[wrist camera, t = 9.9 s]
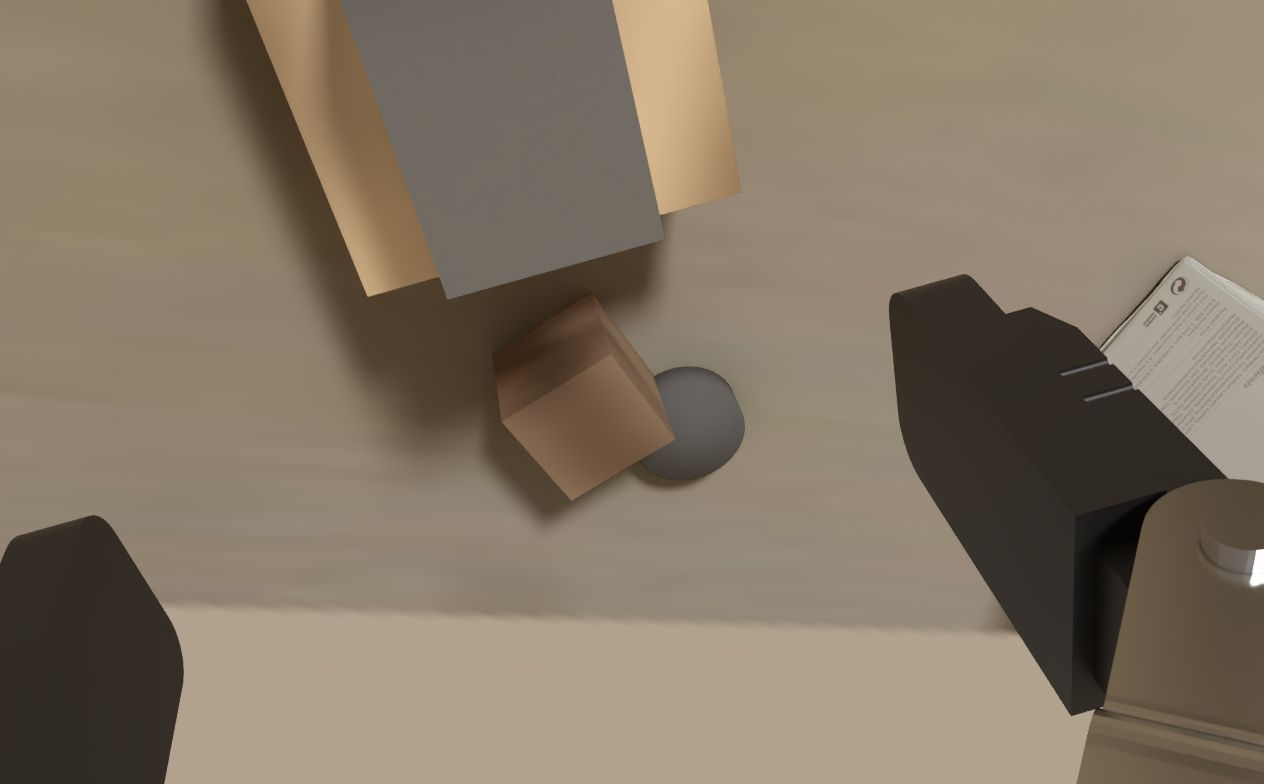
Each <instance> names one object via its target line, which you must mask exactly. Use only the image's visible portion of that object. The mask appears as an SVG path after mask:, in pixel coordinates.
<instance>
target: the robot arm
mask: <svg viewBox="0 0 1264 784" xmlns="http://www.w3.org/2000/svg"><path fill="white" fill-rule="evenodd" d="M889 319H890V329H891V340H892V351H893V362H894V372H895V383H896V394H897V405H898V415H899V422H900V428H901V432H902V436H903V440H904V443H905V446H906V449H907V452H908V455H909V458H910V460H911V462H912V465H913V467H914V469H915V471H916V473H917V475H918V476H919V478H920V480H921V481H922V483H923V484H924V486H925V488H926V489H927V491H928V492H929V494H930V495H931V497H932V499H933V500H934V502H935V503H936V505H937V506H938V508H939V510H940V511H941V513H942V514H943V516H944V517H945V519H946V521H947V522H948V524H949V525H950V527H951V528H952V530H953V531H954V533H955V535H956V536H957V538H958V539H959V541H960V542H961V544H962V546H963V547H964V549H965V550H966V552H967V553H968V555H969V557H970V558H971V560H972V561H973V563H974V564H975V566H976V568H977V569H978V571H979V572H980V574H981V575H982V577H983V579H984V580H985V582H986V583H987V585H988V586H989V588H990V590H991V591H992V593H993V594H994V596H995V597H996V599H997V601H998V602H999V604H1000V605H1001V607H1002V608H1003V610H1004V612H1005V613H1006V615H1007V616H1008V618H1009V619H1010V621H1011V623H1012V624H1013V626H1014V627H1015V629H1016V630H1017V632H1018V634H1019V635H1020V637H1021V638H1022V640H1023V641H1024V643H1025V644H1026V646H1027V647H1028V649H1029V651H1030V652H1031V654H1032V655H1033V657H1034V659H1035V660H1036V662H1037V663H1038V665H1039V666H1040V668H1041V670H1042V671H1043V673H1044V674H1045V676H1046V677H1047V679H1048V680H1049V682H1050V684H1051V685H1052V687H1053V688H1054V690H1055V691H1056V693H1057V695H1058V696H1059V698H1060V699H1061V701H1062V703H1063V704H1064V706H1065V707H1066V709H1067V710H1068V712H1069V714H1070V715H1071V716H1073V715H1077V714H1080V713H1083V712H1086V711H1090V710H1093V709H1095V711H1094V714H1093V717H1092V720H1091V724H1090V727H1089V731H1088V735H1087V739H1086V744H1085V748H1084V753H1083V757H1082V762H1081V766H1080V771H1079V775H1078V780H1077V784H1264V483H1262V482H1256V481H1251V480H1240V479H1228V478H1227V477H1226V476H1225V475H1224V474H1223V473H1222V472H1221V471H1220V470H1219V469H1218V468H1217V467H1216V466H1215V465H1214V464H1213V463H1212V462H1211V461H1210V460H1209V459H1208V458H1207V457H1206V456H1205V455H1204V454H1203V453H1202V452H1201V451H1200V450H1199V449H1198V448H1197V447H1196V446H1195V445H1194V444H1193V443H1192V442H1191V441H1190V440H1189V439H1188V438H1187V437H1186V436H1185V435H1184V434H1183V433H1182V432H1181V431H1180V430H1179V429H1178V428H1177V427H1176V426H1175V425H1174V424H1173V423H1172V422H1171V421H1170V420H1169V419H1168V418H1167V417H1166V416H1165V415H1164V414H1163V413H1162V412H1161V411H1160V410H1159V409H1158V408H1157V407H1156V406H1155V405H1154V404H1153V403H1152V402H1151V401H1150V400H1149V399H1148V398H1147V397H1146V396H1145V395H1144V394H1143V393H1142V392H1141V391H1140V390H1139V389H1137V390H1134V388H1133V385H1132V382H1131V381H1130V380H1129V379H1128V378H1127V377H1126V376H1125V375H1124V374H1123V373H1122V372H1121V371H1120V370H1119V369H1118V368H1117V367H1116V366H1115V365H1114V364H1111V365H1110V364H1109V363H1108V359H1107V357H1106V356H1105V355H1104V354H1103V353H1102V352H1101V351H1100V350H1099V349H1098V348H1097V347H1096V346H1095V345H1094V344H1093V343H1092V342H1091V341H1090V340H1089V339H1088V338H1087V337H1086V336H1085V335H1084V334H1083V333H1082V332H1081V331H1080V330H1079V329H1078V328H1077V327H1075V326H1073V325H1070V324H1068V323H1066V322H1064V321H1061V320H1059V319H1057V318H1055V317H1052V316H1050V315H1048V314H1046V313H1043V312H1041V311H1039V310H1036V309H1034V308H1032V307H1029V308H1026V309H1022V310H1019V311H1015V312H1011V313H1008V314H1005V313H1004V312H1003V311H1002V310H1001V309H1000V307H999V306H998V305H997V304H996V303H995V302H994V301H993V300H992V299H991V298H990V297H989V295H988V294H987V293H986V292H985V291H984V290H983V289H982V288H981V287H980V286H979V285H978V283H977V282H976V281H975V280H974V279H973V278H972V277H970V276H969V275H967V274H962V275H959V276H955V277H951V278H948V279H944V280H941V281H937V282H933V283H930V284H926V285H923V286H919V287H916V288H912V289H908V290H905V291H901V292H898V293H894V294H893V295H892V296H891V299H890V303H889ZM183 675H184V669H183V658H182V652H181V647H180V643H179V640H178V637H177V634H176V631H175V629H174V627H173V625H172V623H171V621H170V619H169V617H168V616H167V614H166V612H165V611H164V609H163V608H162V606H161V605H160V603H159V601H158V600H157V598H156V597H155V595H154V593H153V592H152V590H151V589H150V587H149V585H148V584H147V582H146V581H145V579H144V578H143V576H142V574H141V573H140V571H139V570H138V568H137V566H136V565H135V563H134V562H133V560H132V558H131V557H130V555H129V554H128V552H127V551H126V549H125V547H124V546H123V544H122V543H121V541H120V539H119V538H118V536H117V535H116V533H115V532H114V530H113V529H112V527H111V526H110V525H109V524H108V523H107V522H106V521H105V520H104V519H102V518H101V517H99V516H95V515H92V516H87V517H84V518H80V519H77V520H73V521H70V522H66V523H62V524H59V525H55V526H52V527H48V528H45V529H41V530H37V531H34V532H30V533H27V534H23V535H19V536H17V537H15V538H13V539H12V541H11V542H10V543H9V545H8V547H7V549H6V551H5V553H4V556H3V558H2V561H1V563H0V784H164V782H165V776H166V771H167V765H168V760H169V755H170V749H171V745H172V739H173V734H174V729H175V723H176V718H177V713H178V707H179V701H180V696H181V691H182V686H183ZM1100 707H1103V709H1101V708H1100Z"/></svg>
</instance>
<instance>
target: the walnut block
mask: <svg viewBox="0 0 1264 784" xmlns="http://www.w3.org/2000/svg"><path fill="white" fill-rule="evenodd" d="M492 357H493V364H494V371H495V379H496V386H497V393H498V400H499V407H500V414H501V422H502V423H503V424H504V425H505V426H506V427H507V429H508V430H509V431H510V432H511V433H512V434H513V435H514V437H515V438H516V439H517V440H518V441H519V442H520V443H521V444H522V446H523V447H524V448H525V449H526V450H527V451H528V452H529V453H530V455H531V456H532V457H533V458H534V459H535V460H536V461H537V462H538V464H539V465H540V466H541V467H542V468H543V469H544V470H545V472H546V473H547V474H548V475H549V476H550V477H551V478H552V479H553V481H554V482H555V483H556V484H557V485H558V486H559V487H560V488H561V490H562V491H563V492H564V493H565V494H566V495H567V496H568V497H569V499H570V500H571V501H572V500H574V499H576V498H577V497H579V496H581V495H582V494H584V493H586V492H587V491H589V490H591V489H592V488H594V487H596V486H597V485H599V484H601V483H602V482H604V481H606V480H607V479H609V478H611V477H613V476H614V475H616V474H618V473H619V472H621V471H623V470H624V469H626V468H628V467H629V466H631V465H633V464H634V463H636V462H638V461H639V460H641V459H643V458H644V457H646V456H648V455H650V454H651V453H653V452H655V451H656V450H658V449H660V448H661V447H663V446H665V445H666V444H668V443H670V442H671V441H673V440H675V437H674V434H673V431H672V428H671V425H670V422H669V419H668V417H667V414H666V411H665V408H664V405H663V402H662V399H661V396H660V394H659V391H658V388H657V385H656V382H655V379H654V376H653V374H652V372H651V371H650V370H649V368H648V367H647V366H646V364H645V363H644V361H643V360H642V359H641V357H640V356H639V355H638V353H637V352H636V351H635V349H634V348H633V347H632V345H631V344H630V343H629V341H628V340H627V339H626V337H625V336H624V335H623V333H622V332H621V331H620V329H619V328H618V327H617V325H616V324H615V323H614V321H613V320H612V319H611V317H610V316H609V315H608V313H607V312H606V311H605V309H604V308H603V307H602V305H601V304H600V303H599V301H598V300H597V299H596V297H595V296H594V295H593V293H590V294H589V295H587V296H585V297H584V298H582V299H581V300H579V301H578V302H576V303H574V304H573V305H571V306H570V307H568V308H566V309H565V310H563V311H562V312H560V313H558V314H557V315H555V316H554V317H552V318H551V319H549V320H547V321H546V322H544V323H543V324H541V325H539V326H538V327H536V328H535V329H533V330H531V331H530V332H528V333H527V334H525V335H523V336H522V337H520V338H519V339H517V340H516V341H514V342H512V343H511V344H509V345H508V346H506V347H504V348H503V349H501V350H500V351H498V352H496V353H495V354H493V355H492Z"/></svg>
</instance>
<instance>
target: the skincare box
mask: <svg viewBox="0 0 1264 784" xmlns="http://www.w3.org/2000/svg"><path fill="white" fill-rule="evenodd" d="M1099 350H1100V351H1101V352H1102V353H1103V354H1104V355H1105V356H1106V357H1107V359H1108V363H1109V364H1110V365H1111V364H1114V365H1115V366H1116V367H1117V368H1118V369H1119V370H1120V371H1121V372H1122V373H1123V374H1124V375H1125V376H1126V377H1127V378H1128V379H1129V380H1130V381H1131V382H1132V385H1133V388H1134V390H1137V389H1139V390H1140V391H1141V392H1142V393H1143V394H1144V395H1145V396H1146V397H1147V398H1148V399H1149V400H1150V401H1151V402H1152V403H1153V404H1154V405H1155V406H1156V407H1157V408H1158V409H1159V410H1160V411H1161V412H1162V413H1163V414H1164V415H1165V416H1166V417H1167V418H1168V419H1169V420H1170V421H1171V422H1172V423H1173V424H1174V425H1175V426H1176V427H1177V428H1178V429H1179V430H1180V431H1181V432H1182V433H1183V434H1184V435H1185V436H1186V437H1187V438H1188V439H1189V440H1190V441H1191V442H1192V443H1193V444H1194V445H1195V446H1196V447H1197V448H1198V449H1199V450H1200V451H1201V452H1202V453H1203V454H1204V455H1205V456H1206V457H1207V458H1208V459H1209V460H1210V461H1211V462H1212V463H1213V464H1214V465H1215V466H1216V467H1217V468H1218V469H1219V470H1220V471H1221V472H1222V473H1223V474H1224V475H1225V476H1226V477H1227V478H1228V479H1240V480H1251V481H1256V482H1262V483H1264V300H1262V299H1260V298H1258V297H1257V296H1255V295H1253V294H1251V293H1250V292H1248V291H1246V290H1245V289H1243V288H1241V287H1240V286H1238V285H1236V284H1235V283H1233V282H1231V281H1229V280H1227V279H1225V278H1223V277H1221V276H1219V275H1217V274H1215V273H1213V272H1211V271H1209V270H1208V269H1207V268H1205V267H1204V266H1202V265H1201V264H1200V263H1198V262H1197V261H1196V260H1194V259H1193V258H1191V257H1189V256H1186V257H1184V258H1183V259H1182V260H1180V261H1179V262H1178V263H1177V264H1176V265H1175V266H1174V268H1173V269H1172V270H1171V271H1170V272H1169V273H1168V274H1167V275H1166V277H1165V278H1164V279H1163V280H1162V282H1161V283H1160V284H1159V286H1158V287H1157V288H1156V289H1155V290H1154V291H1153V293H1152V294H1151V295H1150V296H1149V297H1148V298H1147V299H1146V300H1145V301H1144V302H1143V303H1142V305H1141V306H1140V307H1139V308H1138V309H1137V310H1136V311H1135V312H1134V313H1133V314H1132V315H1131V316H1130V317H1129V318H1128V319H1127V320H1126V321H1125V322H1124V323H1123V324H1122V325H1121V326H1120V327H1119V328H1118V329H1117V331H1116V332H1115V333H1114V334H1113V335H1112V336H1111V337H1110V338H1109V340H1108V341H1107V342H1106V343H1105V344H1104V345H1103V346H1102V347H1101V348H1100V349H1099Z"/></svg>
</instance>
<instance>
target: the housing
mask: <svg viewBox="0 0 1264 784" xmlns="http://www.w3.org/2000/svg"><path fill="white" fill-rule="evenodd" d="M340 1H341V4H342V7H343V10H344V13H345V15H346V18H347V21H348V24H349V27H350V29H351V32H352V35H353V38H354V41H355V43H356V46H357V49H358V52H359V54H360V57H361V60H362V63H363V66H364V68H365V71H366V74H367V77H368V80H369V82H370V85H371V88H372V91H373V93H374V96H375V99H376V102H377V105H378V107H379V110H380V113H381V116H382V119H383V121H384V124H385V127H386V130H387V133H388V135H389V138H390V141H391V144H392V146H393V149H394V152H395V155H396V158H397V160H398V163H399V166H400V169H401V172H402V174H403V177H404V180H405V183H406V186H407V188H408V191H409V194H410V197H411V199H412V202H413V205H414V208H415V211H416V213H417V216H418V219H419V222H420V225H421V227H422V230H423V233H424V236H425V238H426V241H427V244H428V247H429V250H430V252H431V255H432V258H433V261H434V264H435V266H436V269H437V272H438V275H439V278H440V280H441V283H442V286H443V289H444V291H445V294H446V297H447V300H448V299H452V298H455V297H459V296H462V295H466V294H470V293H473V292H477V291H480V290H484V289H488V288H491V287H495V286H499V285H502V284H506V283H509V282H513V281H517V280H520V279H524V278H527V277H531V276H535V275H538V274H542V273H545V272H549V271H553V270H556V269H560V268H563V267H567V266H571V265H574V264H578V263H581V262H585V261H589V260H592V259H596V258H599V257H603V256H607V255H610V254H614V253H618V252H621V251H625V250H628V249H632V248H636V247H639V246H643V245H646V244H650V243H654V242H657V241H661V240H664V239H665V236H664V232H663V227H662V223H661V218H660V214H659V209H658V205H657V200H656V196H655V191H654V187H653V182H652V178H651V173H650V168H649V164H648V159H647V155H646V150H645V146H644V141H643V137H642V132H641V128H640V123H639V119H638V114H637V110H636V105H635V101H634V96H633V92H632V87H631V83H630V78H629V74H628V69H627V65H626V60H625V56H624V51H623V47H622V42H621V38H620V33H619V29H618V24H617V20H616V15H615V11H614V6H613V2H612V0H340Z"/></svg>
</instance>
